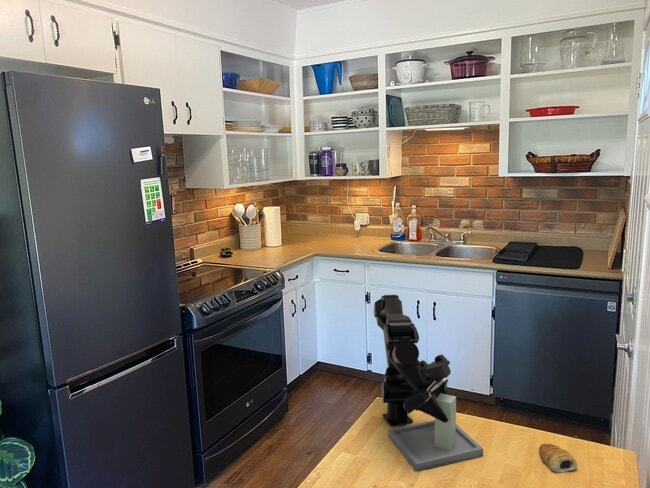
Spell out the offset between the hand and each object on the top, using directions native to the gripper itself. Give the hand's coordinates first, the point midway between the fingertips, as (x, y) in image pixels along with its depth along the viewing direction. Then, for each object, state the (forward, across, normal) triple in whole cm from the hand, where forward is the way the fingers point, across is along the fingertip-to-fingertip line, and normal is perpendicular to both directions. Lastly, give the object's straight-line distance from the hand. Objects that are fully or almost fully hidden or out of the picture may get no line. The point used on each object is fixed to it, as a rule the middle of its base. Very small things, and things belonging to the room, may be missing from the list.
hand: (450, 416), depth 124 cm
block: (+5, 0, +7) cm, 8 cm away
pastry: (+23, +8, -10) cm, 26 cm away
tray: (+3, 0, +9) cm, 10 cm away
